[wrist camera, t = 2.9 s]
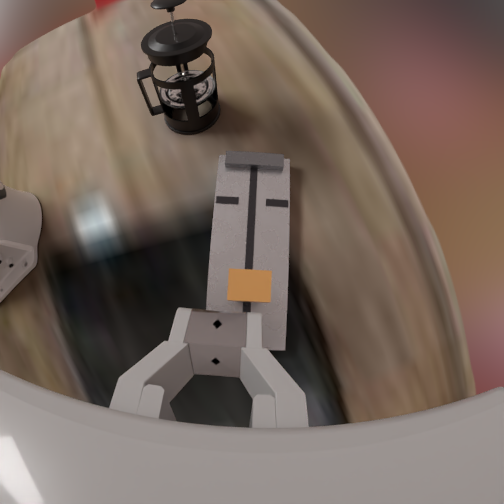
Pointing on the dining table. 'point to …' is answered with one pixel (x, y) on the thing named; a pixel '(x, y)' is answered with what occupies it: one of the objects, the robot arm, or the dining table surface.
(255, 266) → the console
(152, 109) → the french press
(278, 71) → the dining table surface
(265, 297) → the fader tab
